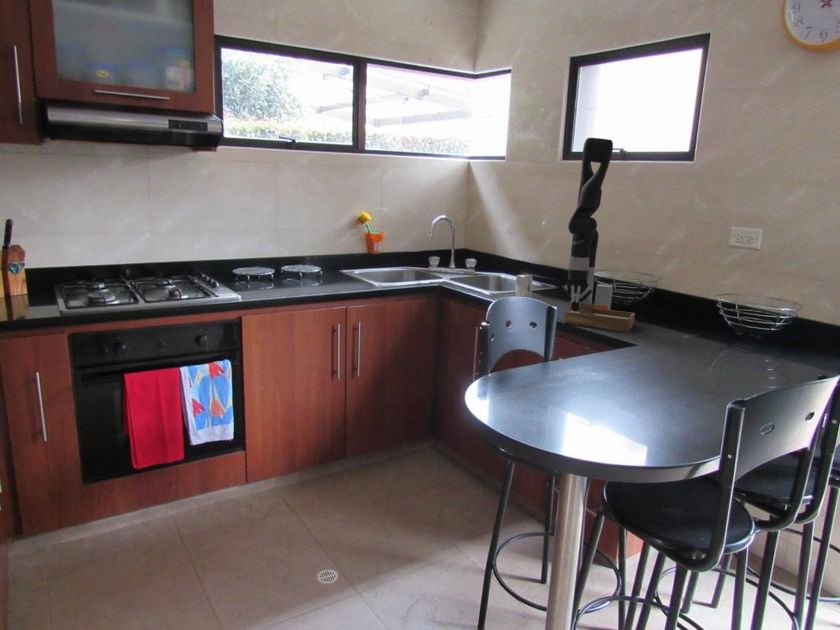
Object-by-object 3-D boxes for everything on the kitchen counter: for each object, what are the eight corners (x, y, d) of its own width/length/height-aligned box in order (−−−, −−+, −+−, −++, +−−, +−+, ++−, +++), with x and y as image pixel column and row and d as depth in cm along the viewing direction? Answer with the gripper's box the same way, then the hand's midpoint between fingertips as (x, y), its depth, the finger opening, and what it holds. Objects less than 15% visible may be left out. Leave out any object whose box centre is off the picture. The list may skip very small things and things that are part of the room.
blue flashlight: (512, 312, 254) (515, 276, 251) (514, 308, 261) (516, 273, 257) (529, 313, 253) (532, 277, 249) (531, 310, 259) (533, 275, 256)
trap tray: (572, 316, 250) (573, 305, 249) (633, 324, 240) (635, 312, 239) (563, 323, 237) (564, 312, 236) (628, 331, 227) (629, 320, 226)
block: (581, 312, 246) (582, 302, 245) (593, 314, 244) (594, 304, 243) (579, 314, 242) (580, 304, 241) (591, 315, 240) (592, 306, 239)
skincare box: (593, 313, 257) (596, 285, 254) (595, 311, 260) (598, 283, 258) (608, 315, 254) (611, 286, 251) (610, 313, 258) (613, 285, 255)
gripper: (597, 268, 241) (593, 311, 245) (564, 265, 247) (560, 307, 251) (593, 271, 235) (589, 315, 239) (559, 267, 241) (555, 310, 245)
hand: (574, 311), depth 245 cm, fingers closed
